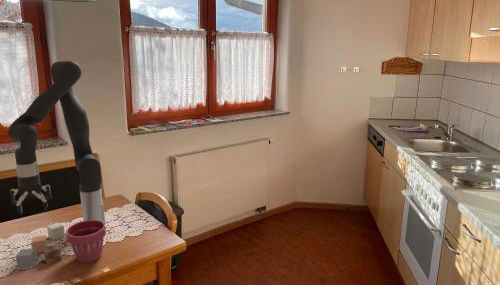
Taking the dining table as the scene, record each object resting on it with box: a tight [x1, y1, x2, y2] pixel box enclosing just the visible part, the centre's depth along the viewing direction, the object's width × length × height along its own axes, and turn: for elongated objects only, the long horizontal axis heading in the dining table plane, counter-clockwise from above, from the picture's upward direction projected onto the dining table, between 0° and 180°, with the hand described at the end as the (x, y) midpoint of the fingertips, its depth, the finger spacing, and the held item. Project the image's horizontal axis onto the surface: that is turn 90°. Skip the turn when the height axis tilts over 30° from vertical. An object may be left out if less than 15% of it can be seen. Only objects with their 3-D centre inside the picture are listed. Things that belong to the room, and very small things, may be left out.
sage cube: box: [46, 222, 66, 241], centre depth 173 cm, size 5×5×5 cm
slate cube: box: [15, 248, 37, 269], centre depth 152 cm, size 5×5×5 cm
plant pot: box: [65, 220, 107, 264], centre depth 155 cm, size 14×14×13 cm
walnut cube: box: [43, 243, 62, 265], centre depth 154 cm, size 5×5×5 cm
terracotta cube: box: [30, 234, 48, 254], centre depth 162 cm, size 5×5×5 cm
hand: (33, 211), depth 159 cm, fingers open, 8 cm apart
